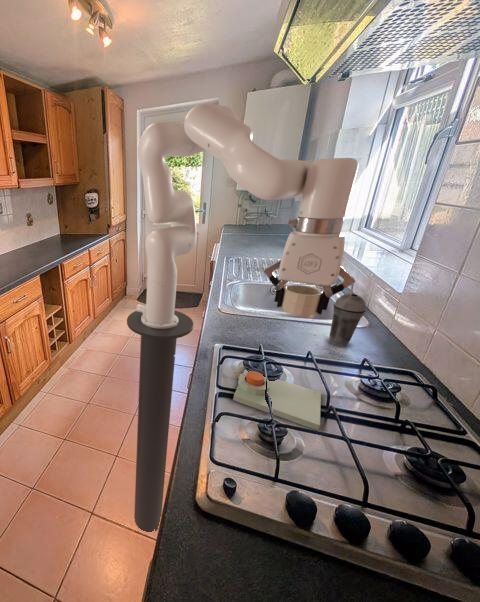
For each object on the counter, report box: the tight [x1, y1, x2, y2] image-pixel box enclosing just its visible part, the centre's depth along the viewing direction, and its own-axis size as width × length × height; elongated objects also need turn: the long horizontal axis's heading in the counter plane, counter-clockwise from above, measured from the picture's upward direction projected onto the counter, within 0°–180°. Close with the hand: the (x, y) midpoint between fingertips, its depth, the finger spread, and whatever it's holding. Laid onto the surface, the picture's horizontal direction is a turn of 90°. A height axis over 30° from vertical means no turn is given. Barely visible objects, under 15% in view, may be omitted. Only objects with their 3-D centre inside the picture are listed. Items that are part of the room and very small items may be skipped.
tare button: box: [246, 370, 264, 386], centre depth 70 cm, size 4×4×2 cm
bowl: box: [280, 284, 323, 317], centre depth 66 cm, size 7×7×5 cm
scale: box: [232, 369, 322, 431], centre depth 68 cm, size 16×12×3 cm
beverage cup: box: [328, 283, 367, 348], centre depth 87 cm, size 7×7×20 cm
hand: (298, 307), depth 66 cm, fingers closed on bowl, 6 cm apart
